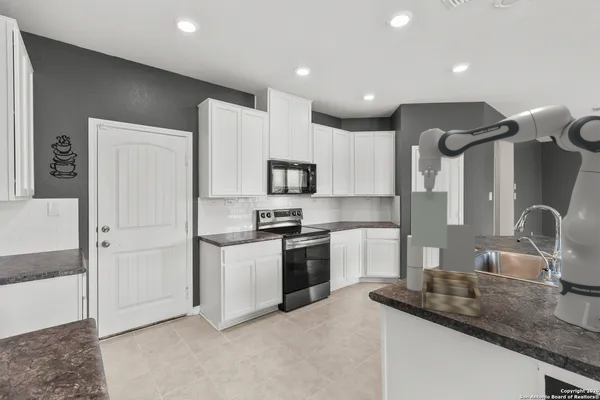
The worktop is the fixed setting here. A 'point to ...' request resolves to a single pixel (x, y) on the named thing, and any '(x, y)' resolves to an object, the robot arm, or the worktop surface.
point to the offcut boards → (450, 284)
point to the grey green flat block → (429, 220)
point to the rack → (451, 302)
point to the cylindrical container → (414, 266)
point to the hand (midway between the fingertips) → (429, 199)
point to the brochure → (458, 249)
